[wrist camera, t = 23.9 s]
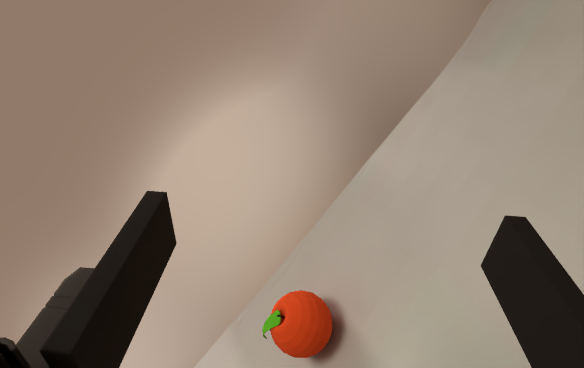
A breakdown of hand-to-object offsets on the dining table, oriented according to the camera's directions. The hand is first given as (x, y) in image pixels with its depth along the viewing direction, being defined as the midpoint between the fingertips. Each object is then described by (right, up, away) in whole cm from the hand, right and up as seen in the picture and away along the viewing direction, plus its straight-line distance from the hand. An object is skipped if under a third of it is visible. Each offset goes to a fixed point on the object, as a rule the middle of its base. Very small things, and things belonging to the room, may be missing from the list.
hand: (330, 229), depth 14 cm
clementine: (+2, -15, +27) cm, 32 cm away
